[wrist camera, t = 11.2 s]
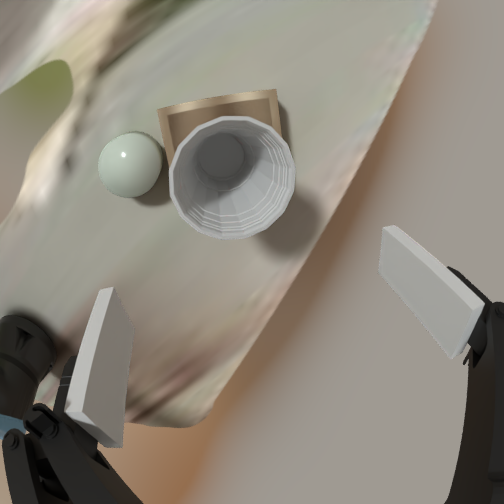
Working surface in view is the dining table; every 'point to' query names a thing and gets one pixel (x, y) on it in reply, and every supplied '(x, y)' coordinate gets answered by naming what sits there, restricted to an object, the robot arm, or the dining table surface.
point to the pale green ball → (130, 164)
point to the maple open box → (216, 115)
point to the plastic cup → (232, 177)
